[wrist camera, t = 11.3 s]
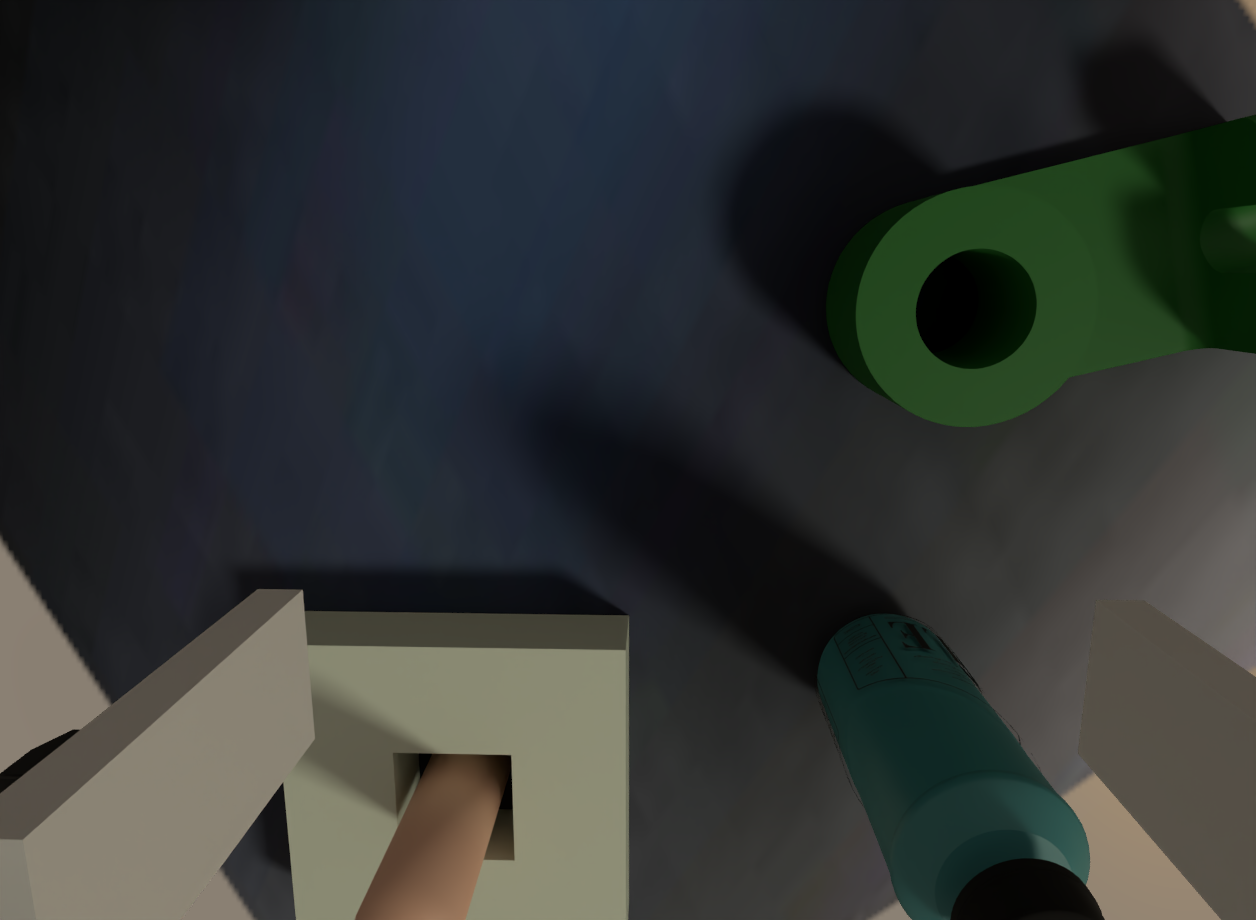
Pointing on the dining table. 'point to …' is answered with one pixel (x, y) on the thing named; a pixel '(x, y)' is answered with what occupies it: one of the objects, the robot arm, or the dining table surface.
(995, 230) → the slotted cylinder bracket
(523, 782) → the socket board
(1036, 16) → the dining table surface
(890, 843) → the beverage bottle
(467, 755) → the peg
